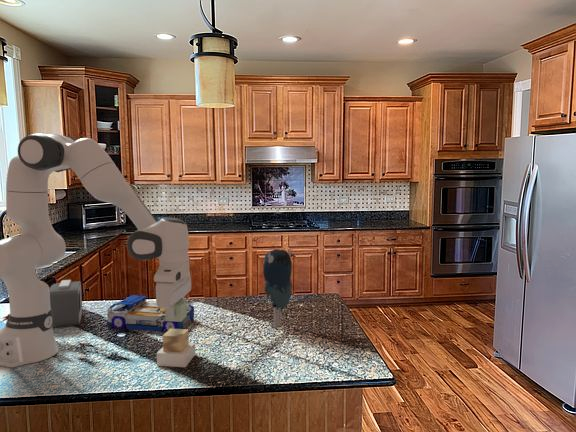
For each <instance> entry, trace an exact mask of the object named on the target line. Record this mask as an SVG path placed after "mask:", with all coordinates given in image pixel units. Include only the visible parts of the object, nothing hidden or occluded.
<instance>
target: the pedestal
mask: <svg viewBox="0 0 576 432" xmlns="http://www.w3.org/2000/svg"><path fill="white" fill-rule="evenodd" d="M195 355H196V343H195V342H189V345H188V346H187V347H186V348H185V349H184V351H183V352H167V351H163V346H162V347H161V348H160V349H159V350H158V351H157V352H156V366H158V367H160V366H161V367H176V368H186V367H187V366H188V365H189V363H190V362H191V361H192V359H193V358H194V357H195Z"/></svg>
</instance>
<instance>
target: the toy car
mask: <svg viewBox="0 0 576 432" xmlns="http://www.w3.org/2000/svg"><path fill="white" fill-rule="evenodd" d="M186 304H187V317H186V318H185V319H184V320H182V321H181V322H175V321H165V309H163V308H158V306H157V303H156V302H147V296H146V295H135V294H130V295H129V296H128V297H127V298H124V299H122V300H120V301H118V302H116V303H115V302H114V303H113V304H112V305H111V306H109V307H108V309H107V320H108V321H107V327H108V328H114V329H117V330H118V329H119V330H122V329H123V328H126V330H129V331H130V330H132V331H144V332H146V331H147V332H156V331H159V332H158V333H162V332H163V333H164V331H165V333H166V332H167V331H168V330H169V329H186V328H187V327H188V326H190V325H191V324H192V323H193V322H194V321H195V319H194V318H195V307H194V306H193V305H192V304H189V303H188V302H186Z"/></svg>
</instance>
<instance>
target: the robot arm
mask: <svg viewBox="0 0 576 432" xmlns="http://www.w3.org/2000/svg"><path fill="white" fill-rule="evenodd" d="M19 141H20V142H19V143H18V146H17V155H16V156H14V157H12V158H11V159H10V161H9V163H8V168H7V174H6V185H5V187H6V189H5V191H6V192H5V193H6V194H5V198H6V199H5V200H6V202H5V204H6V206H5V207H6V208H5V209H6V216H7V217H8V219H9V220H11V221H13V222H14V223H16V224H17V225H18V226H19V230H20V235H16V236H12V237H6V238H3V239H0V279H1V281H2V282H3V283H4V285H5V287H6V290H7V293H8V301H9V303H8V304H9V310H10V311H9V313H8V314H7V315H5V316H4V317H2V322H4V321H6V322H5V325H4V326H3V327H2V328H1V329H0V367H7V368H17V367H20V366H23V365H27V364H34V363H37V362H41V361H42V362H43V361H45V360H47V359H50V358H51V357H52V358H53V356H55V355H57V353H58V352H59V347H58V344H57V342H56V338H55V335H54V329H53V328H54V327H52V324H53V314H52V309H51V306H50V286H49V284H47V283H46V282H45V281H43V280H40V279H39V278H38V276H37V273H36V269H37V268H40V267H44V266H49V265H51V264H53V263H55V262H58V261H59V260H60V259H62V258H63V257H64V256H65V253H66V250H67V245H66V242H65V240H64V237H63V236H62V235H61V234H59V233H58V232H56V230H55V229H54V227H53V225H52V222H51V220H50V215H49V183H48V182H49V177H50V175H52V173H54V172H55V173H60V172H64V171H70V170H72V171H73V173H74V174H76V177H77V178H78V180H79V181H80V182H81V184H82V186H83V187H84V188H85V190H86V191H87V192H88V193H89V194H90V195H91V196H92V197H93V198H94V199H96V200H98V201H101V202H104V203H107V204H111V205H113V206H116V207H117V208H119V209H121V210H122V211H123V213H125V214H126V215H127V216H128V218H129V220H130V221H131V222H132V223H133V224H134V225H135V227H136V228H137V229H136V230H135V231H134V232H132V233H131V234H130V235H129V236H128V238H127V240H126V250H127V251H128V254H129V255H130V256H131V257H132V258H133V259H134V260H137V261H149V260H153V259H158V260H159V266H158V269H157V271H156V272H155V274H154V275H153V281H154V282H155V283H156V284H155V303H157V306H158V308H163V309H167V311H168V317H169V318H174V317H175V316H176V311H174V306H175V303H176V302H178V301H185V296H186V295H187V294H188V293H189V292H191V290H192V276H191V271H190V257H189V247H190V238H189V236H190V235H189V229H188V225H187V223H186V222H185V220H183V219H180V218H178V217H172V216H171V217H170V216H169V217H162V218H161V219H160V220H158V219H156V218H155V216H154V215H153V214H152V212H151V211H150V210H149V209H148V207H147V206H146V204H145V203H144V202H143V200H141V198H140V197H139V195H138V194H137V193H136V192H135V191H134V190H133V188H132V187H131V185H130V184H129V183H128V181H127V180H126V178H125V177H124V176H123V174H122V173H121V171H120V170H119V168H118V167H117V166H116V163H115V162H114V161H113V160H112V158H111V157H110V155H109V154H108V153H107V152H106V151H105V149H104V148H103V147H102V146H101V144H99V143H98V142H97V141H96V140H95V139H93V138H90V137H82V138H79V139H76V138H74V137H72V136H69V135H68V136H67V135H63V134H57V133H39V132H38V133H33V134H29V135H26V136H24V137H23V138H22V139H21V140H19Z"/></svg>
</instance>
